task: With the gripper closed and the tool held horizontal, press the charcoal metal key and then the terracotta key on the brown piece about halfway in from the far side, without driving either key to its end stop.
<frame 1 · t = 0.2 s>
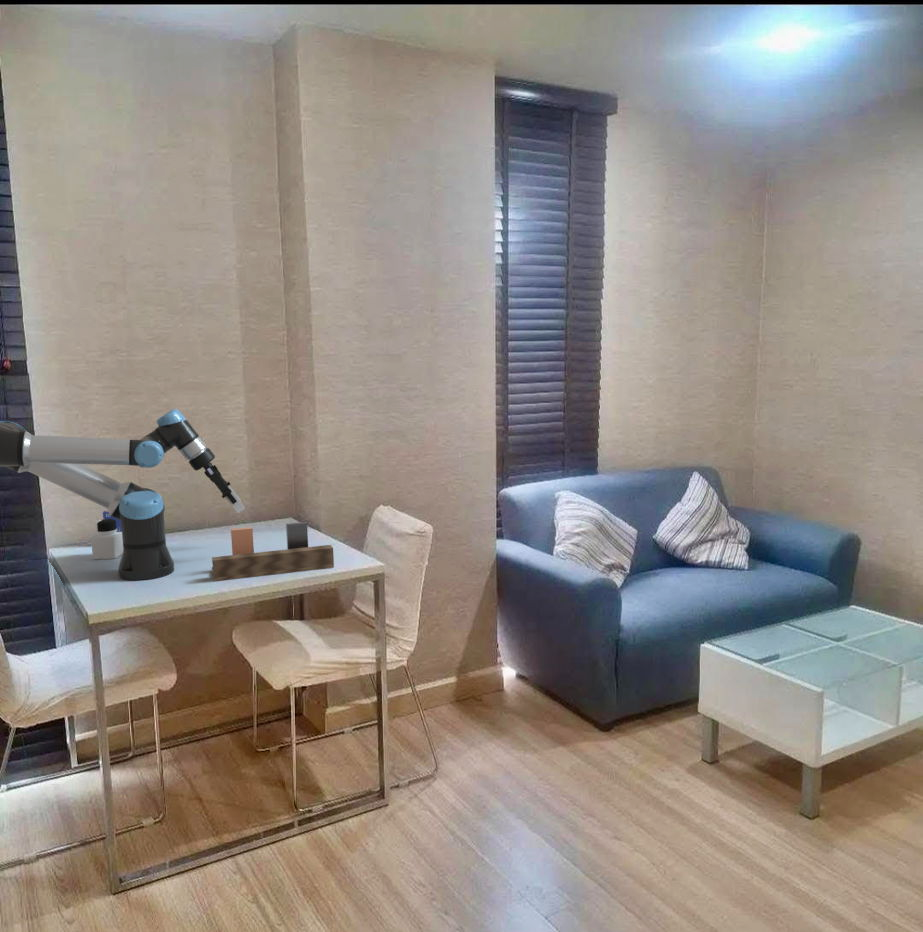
hand: (240, 507, 247), 15 cm above the table, tool tilted 35°, fingers open, 13 cm apart
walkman: (118, 544, 263), on the table
medicine bottle: (108, 556, 248), on the table
terracotta key: (242, 546, 229), point 7 cm above the table, slide at 0.0 cm
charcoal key: (297, 541, 234), point 7 cm above the table, slide at 0.0 cm
brown piece: (273, 568, 230), on the table
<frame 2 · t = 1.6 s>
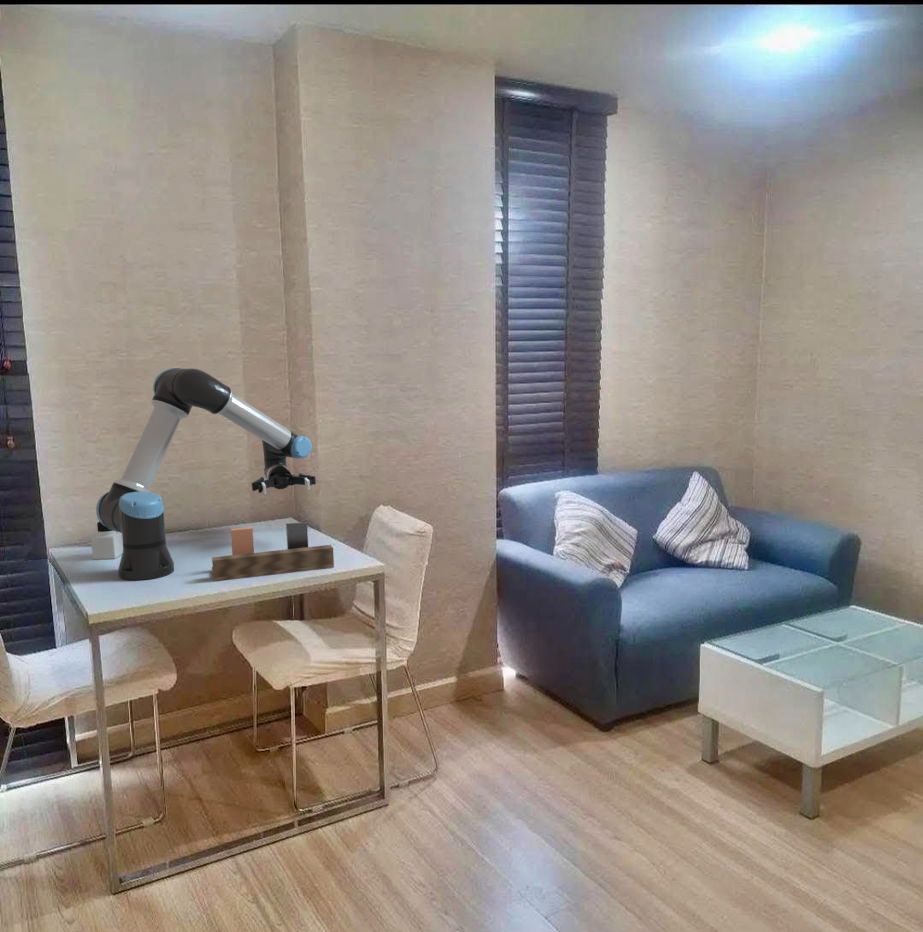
hand: (287, 487, 244), 21 cm above the table, tool horizontal, fingers open, 13 cm apart
nothing on the table moved.
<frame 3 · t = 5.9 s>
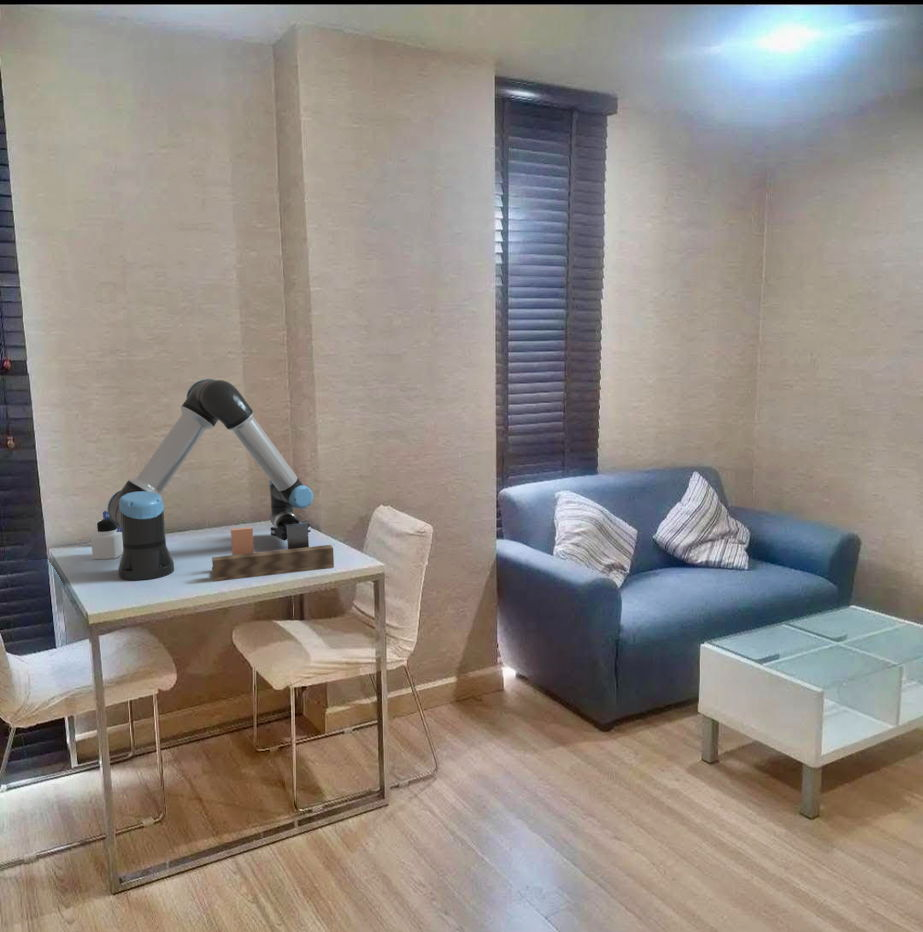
hand: (298, 540, 235), 7 cm above the table, tool horizontal, fingers closed
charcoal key: (297, 542, 233), point 7 cm above the table, slide at 1.1 cm, touching gripper
everything else where it was.
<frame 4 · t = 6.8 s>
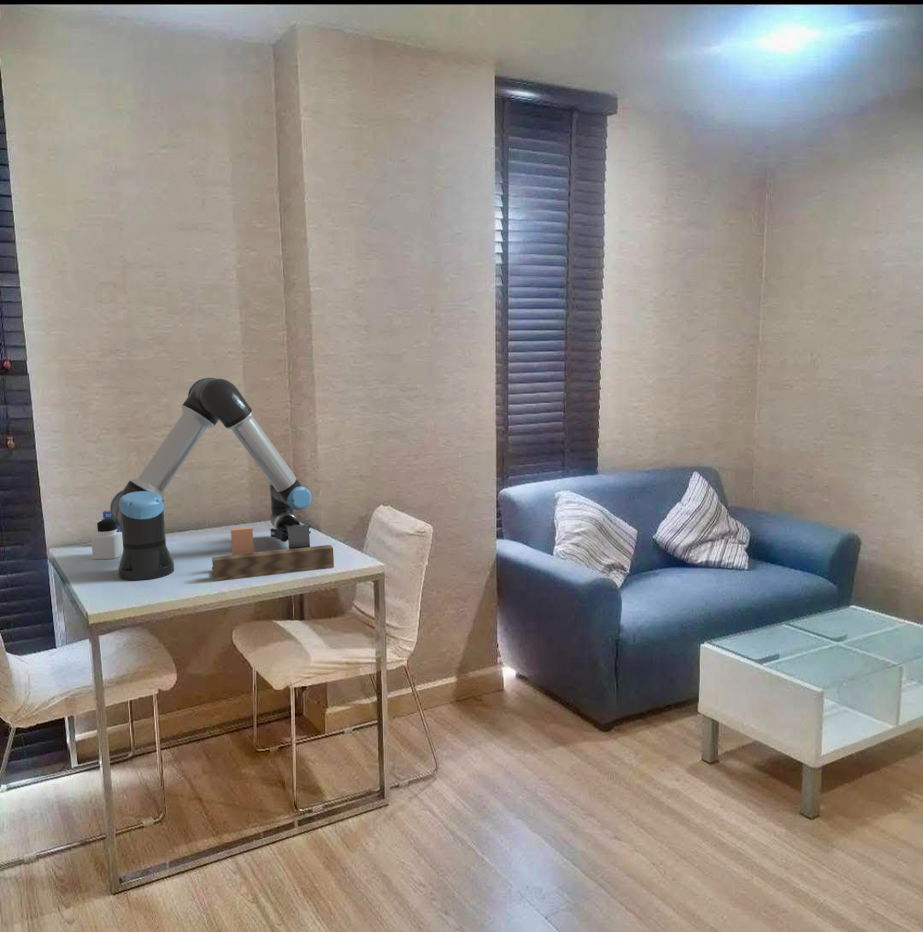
hand: (298, 542, 232), 7 cm above the table, tool horizontal, fingers closed
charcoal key: (299, 543, 231), point 7 cm above the table, slide at 3.3 cm, touching gripper
everything else where it was.
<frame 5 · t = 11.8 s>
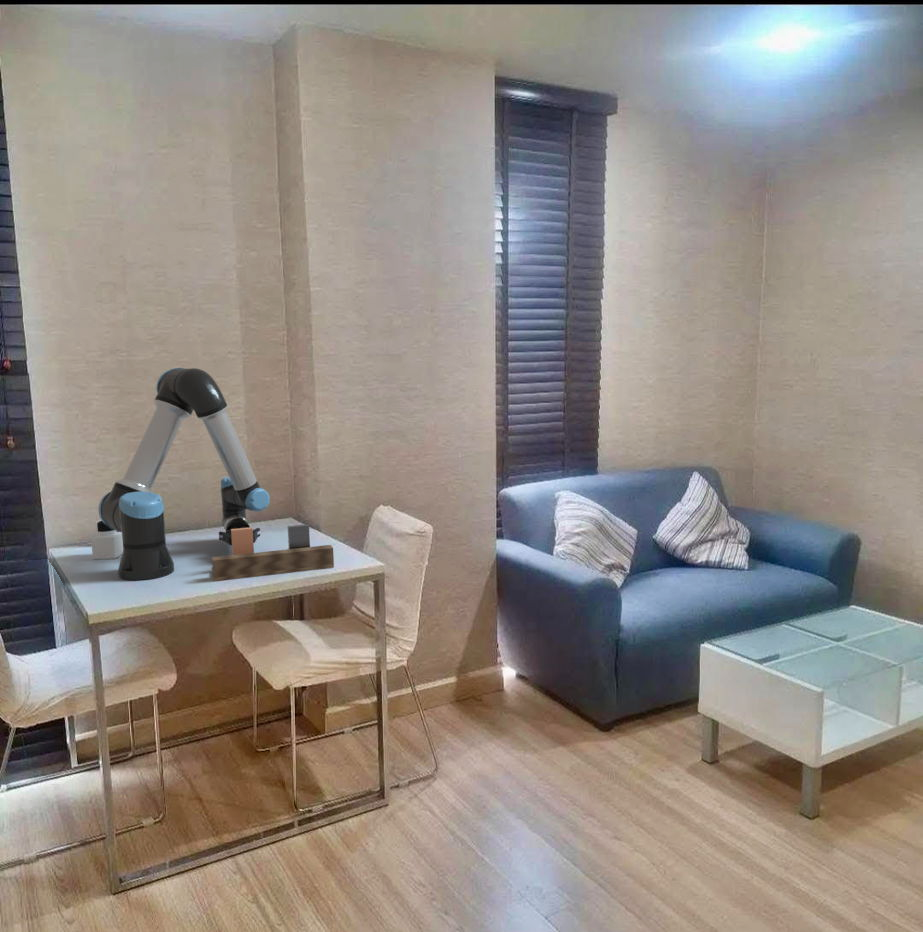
hand: (244, 545, 230), 7 cm above the table, tool horizontal, fingers closed
terracotta key: (242, 547, 229), point 7 cm above the table, slide at 0.2 cm, touching gripper
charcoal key: (299, 543, 231), point 7 cm above the table, slide at 3.3 cm
everything else where it was.
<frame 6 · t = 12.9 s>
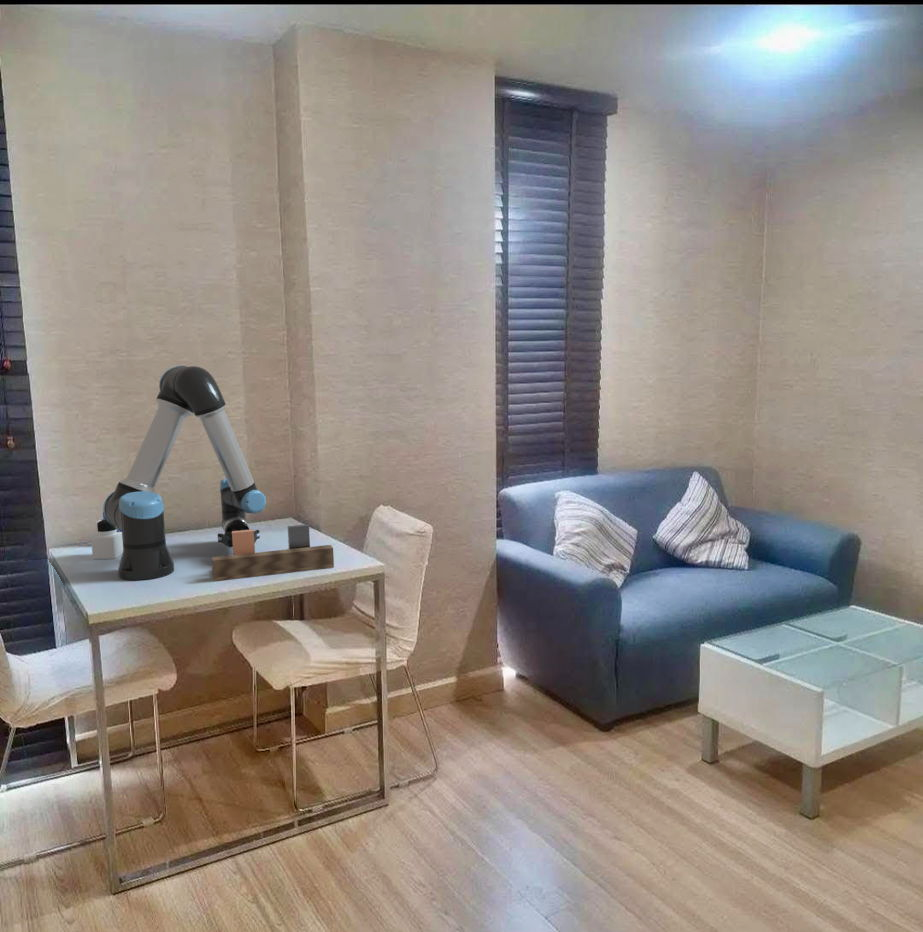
hand: (243, 547, 227), 7 cm above the table, tool horizontal, fingers closed
terracotta key: (243, 549, 226), point 7 cm above the table, slide at 3.3 cm, touching gripper
everything else where it was.
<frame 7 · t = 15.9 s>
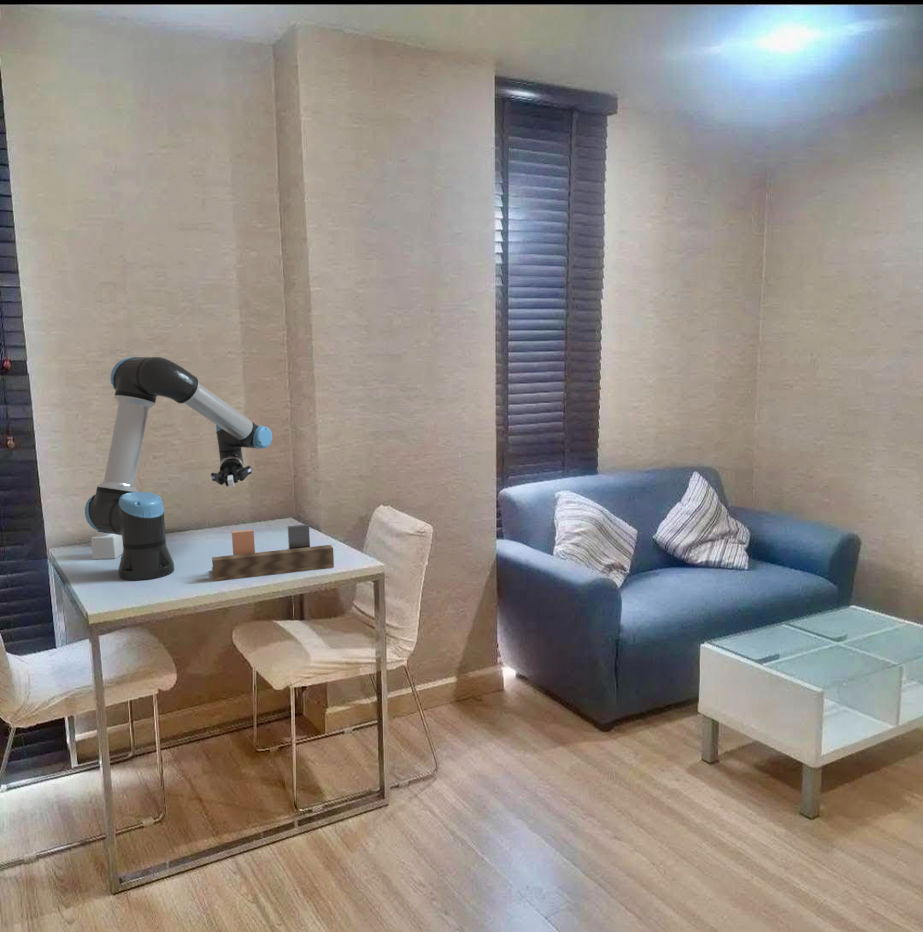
hand: (230, 483, 238), 24 cm above the table, tool horizontal, fingers closed
terracotta key: (243, 549, 226), point 7 cm above the table, slide at 3.4 cm
everything else where it was.
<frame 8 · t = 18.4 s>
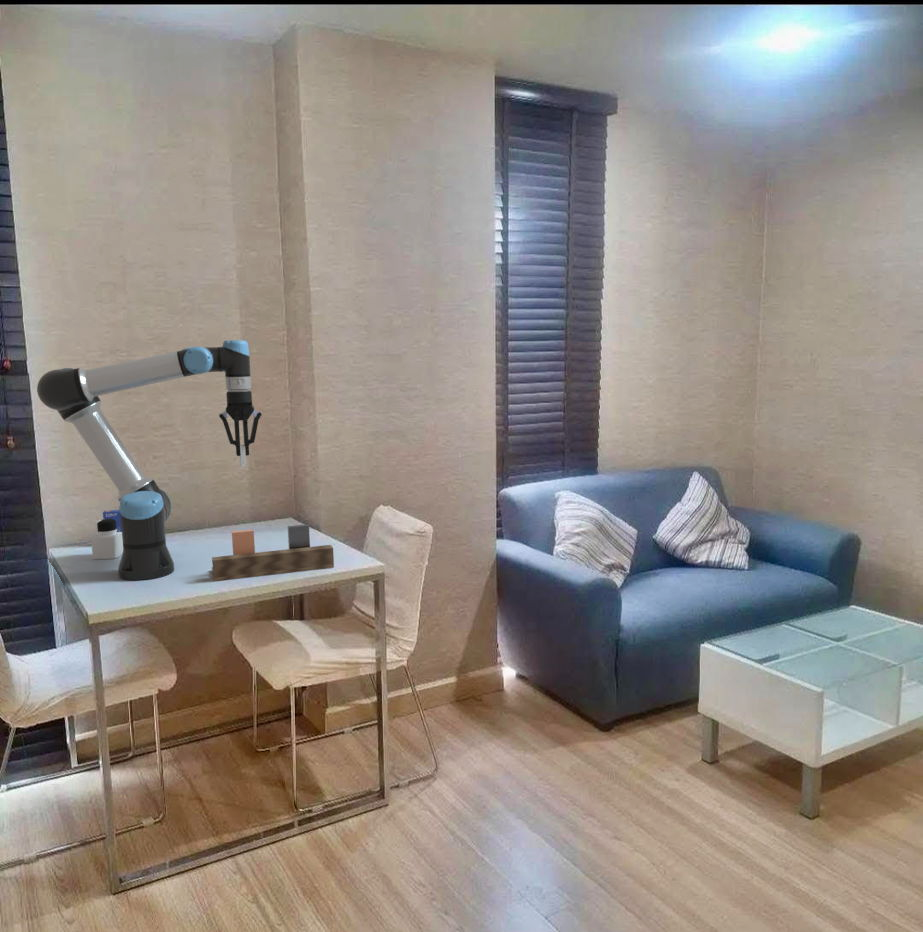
hand: (243, 465, 243), 28 cm above the table, tool pointing down, fingers closed
nothing on the table moved.
at the end: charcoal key slide at 3.3 cm; terracotta key slide at 3.4 cm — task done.
